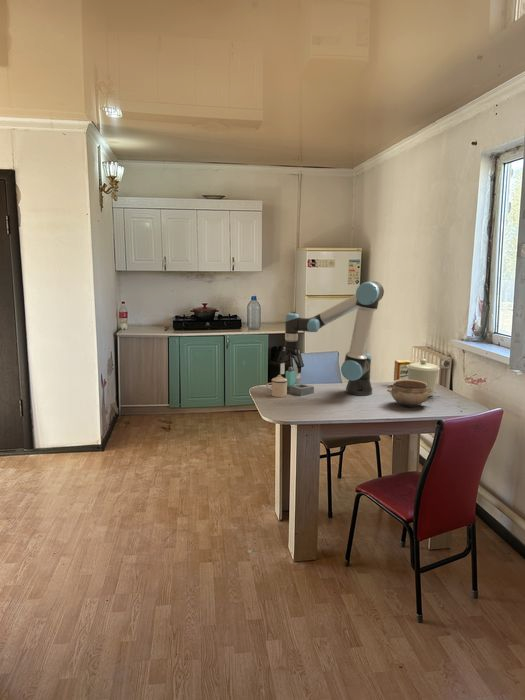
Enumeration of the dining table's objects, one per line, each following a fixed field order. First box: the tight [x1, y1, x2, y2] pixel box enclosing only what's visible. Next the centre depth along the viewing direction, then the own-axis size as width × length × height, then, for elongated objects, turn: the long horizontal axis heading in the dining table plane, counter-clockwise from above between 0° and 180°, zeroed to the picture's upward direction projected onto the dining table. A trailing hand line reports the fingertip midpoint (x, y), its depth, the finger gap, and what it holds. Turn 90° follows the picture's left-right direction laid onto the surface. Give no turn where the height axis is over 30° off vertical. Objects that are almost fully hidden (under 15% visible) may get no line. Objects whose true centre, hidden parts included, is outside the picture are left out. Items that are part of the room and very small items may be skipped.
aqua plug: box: [285, 366, 296, 387], centre depth 303 cm, size 4×4×14 cm
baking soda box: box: [392, 359, 415, 386], centre depth 316 cm, size 10×6×16 cm
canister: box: [407, 358, 441, 398], centre depth 296 cm, size 18×18×21 cm
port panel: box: [288, 383, 315, 397], centre depth 297 cm, size 10×10×4 cm
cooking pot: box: [386, 379, 432, 408], centre depth 274 cm, size 25×19×12 cm
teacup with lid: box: [265, 374, 288, 398], centre depth 290 cm, size 12×9×12 cm
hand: (290, 376), depth 303 cm, fingers open, 13 cm apart
